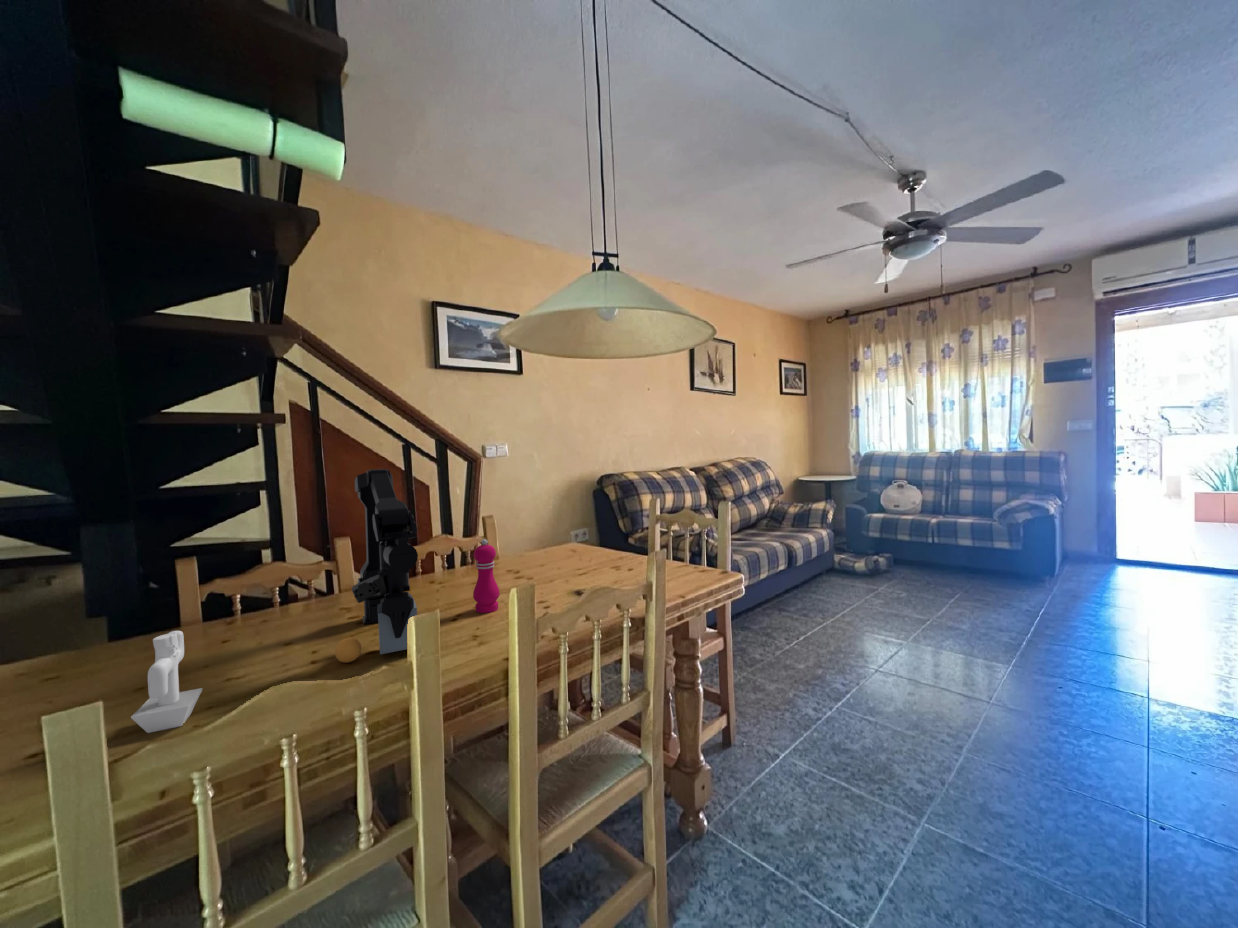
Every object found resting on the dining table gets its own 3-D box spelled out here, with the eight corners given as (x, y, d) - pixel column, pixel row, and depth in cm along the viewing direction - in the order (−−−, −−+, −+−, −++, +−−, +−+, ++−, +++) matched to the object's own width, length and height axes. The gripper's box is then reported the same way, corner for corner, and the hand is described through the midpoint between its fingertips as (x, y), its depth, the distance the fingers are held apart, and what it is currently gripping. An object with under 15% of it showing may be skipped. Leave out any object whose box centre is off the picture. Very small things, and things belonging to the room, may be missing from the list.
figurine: (128, 743, 78) (123, 648, 77) (153, 715, 86) (149, 630, 86) (187, 731, 81) (182, 640, 80) (206, 705, 89) (201, 622, 89)
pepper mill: (493, 614, 136) (490, 541, 135) (468, 613, 137) (466, 541, 137) (504, 606, 143) (501, 537, 142) (481, 605, 144) (478, 537, 144)
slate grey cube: (379, 642, 113) (377, 604, 113) (415, 635, 117) (413, 598, 116) (380, 654, 106) (378, 613, 106) (418, 646, 110) (416, 607, 110)
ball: (355, 630, 110) (364, 649, 110) (331, 642, 107) (341, 662, 108) (355, 637, 105) (365, 657, 106) (330, 650, 103) (341, 670, 104)
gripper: (354, 560, 116) (357, 626, 116) (352, 577, 99) (355, 654, 99) (406, 554, 121) (408, 617, 121) (412, 569, 104) (415, 643, 104)
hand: (397, 632), depth 111 cm, fingers closed on slate grey cube, 8 cm apart
